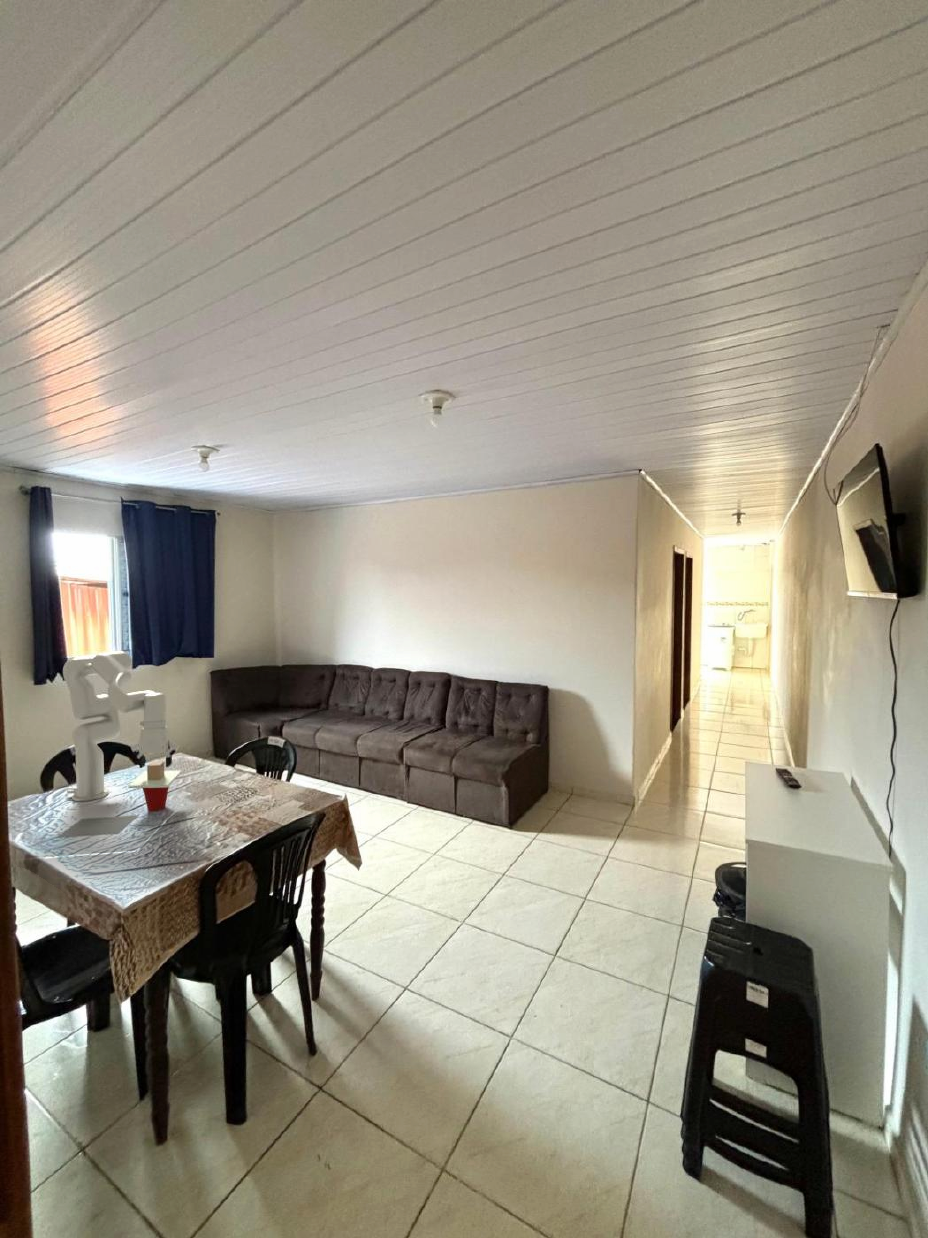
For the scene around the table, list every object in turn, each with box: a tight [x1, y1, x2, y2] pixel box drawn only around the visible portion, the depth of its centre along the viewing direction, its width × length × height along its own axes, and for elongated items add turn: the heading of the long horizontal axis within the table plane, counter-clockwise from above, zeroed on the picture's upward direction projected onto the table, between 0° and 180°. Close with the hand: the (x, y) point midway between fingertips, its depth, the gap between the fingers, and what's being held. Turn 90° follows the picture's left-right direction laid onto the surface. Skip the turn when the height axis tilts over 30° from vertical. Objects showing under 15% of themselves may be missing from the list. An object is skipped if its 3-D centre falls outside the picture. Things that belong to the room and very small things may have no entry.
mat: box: [55, 815, 140, 839], centre depth 189 cm, size 20×16×1 cm
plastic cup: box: [142, 786, 170, 812], centre depth 205 cm, size 11×11×12 cm
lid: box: [128, 760, 182, 789], centre depth 205 cm, size 14×14×7 cm
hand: (155, 766), depth 205 cm, fingers open, 9 cm apart
